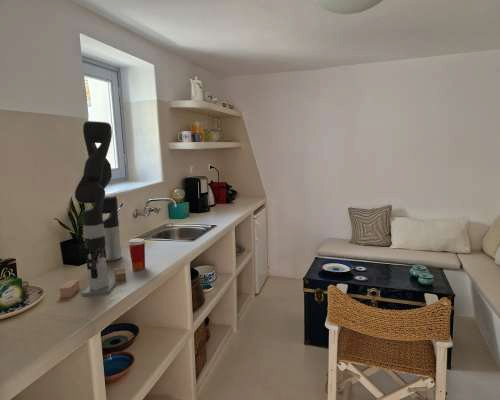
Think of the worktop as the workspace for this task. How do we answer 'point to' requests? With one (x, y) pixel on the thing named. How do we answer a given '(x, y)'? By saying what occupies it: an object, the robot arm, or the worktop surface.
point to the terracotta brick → (69, 288)
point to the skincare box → (99, 275)
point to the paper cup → (137, 253)
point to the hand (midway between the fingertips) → (98, 274)
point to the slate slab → (99, 290)
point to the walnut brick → (120, 275)
